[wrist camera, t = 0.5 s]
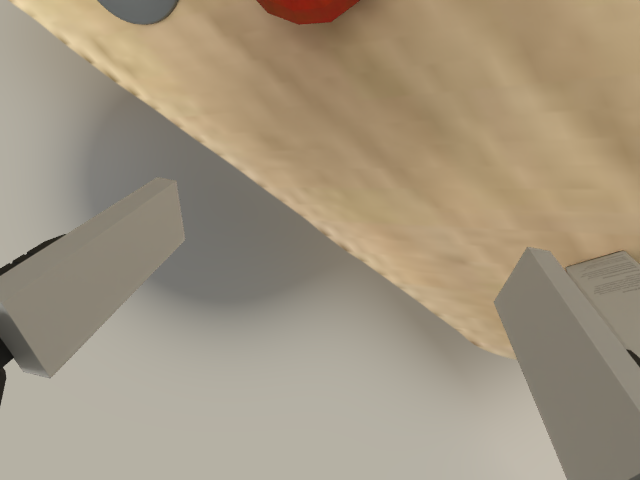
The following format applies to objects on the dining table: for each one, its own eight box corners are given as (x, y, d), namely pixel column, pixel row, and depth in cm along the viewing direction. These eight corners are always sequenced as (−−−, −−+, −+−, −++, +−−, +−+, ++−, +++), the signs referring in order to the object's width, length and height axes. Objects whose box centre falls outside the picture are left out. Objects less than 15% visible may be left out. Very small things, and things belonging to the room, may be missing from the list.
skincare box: (633, 295, 40) (751, 415, 28) (574, 309, 43) (656, 425, 30) (624, 247, 37) (752, 357, 24) (560, 265, 40) (646, 373, 27)
